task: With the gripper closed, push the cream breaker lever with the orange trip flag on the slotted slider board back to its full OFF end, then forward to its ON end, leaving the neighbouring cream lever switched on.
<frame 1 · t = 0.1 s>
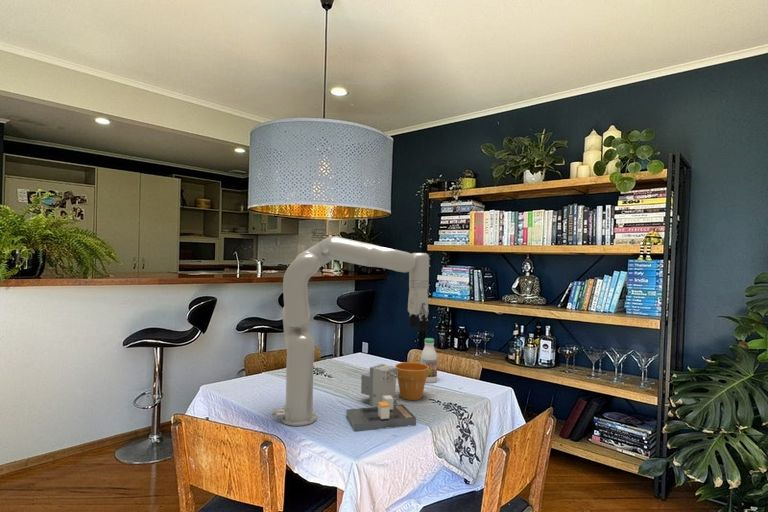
hand: (418, 329, 172), 31 cm above the table, tool pointing down, fingers open, 9 cm apart
flower pot: (411, 397, 186), on the table
on lever: (387, 402, 164), point 5 cm above the table, slide at 8.0 cm
slotted slider board: (380, 420, 160), on the table
tripped lever: (383, 410, 156), point 5 cm above the table, slide at 4.0 cm
circuit breaker: (377, 403, 178), on the table
milk bottle: (428, 381, 210), on the table
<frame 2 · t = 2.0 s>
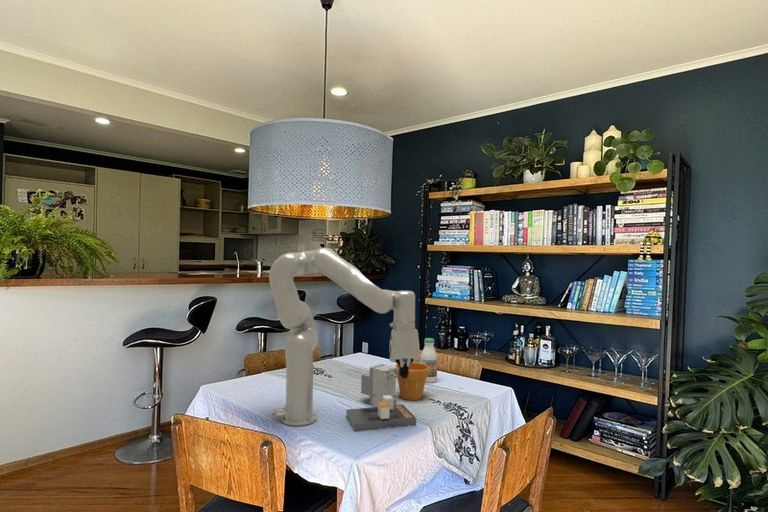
hand: (403, 377, 158), 16 cm above the table, tool pointing down, fingers closed
nothing on the table moved.
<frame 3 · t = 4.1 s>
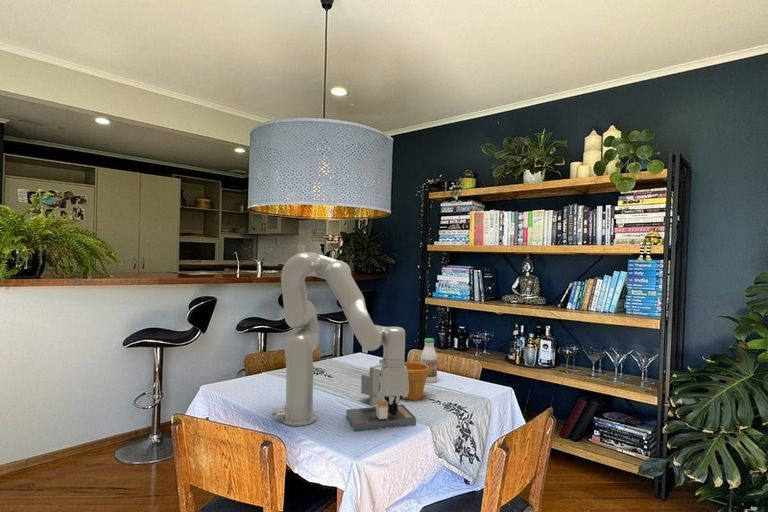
hand: (392, 414, 157), 3 cm above the table, tool pointing down, fingers closed
tripped lever: (381, 410, 155), point 5 cm above the table, slide at 3.3 cm, touching gripper
everything else where it was.
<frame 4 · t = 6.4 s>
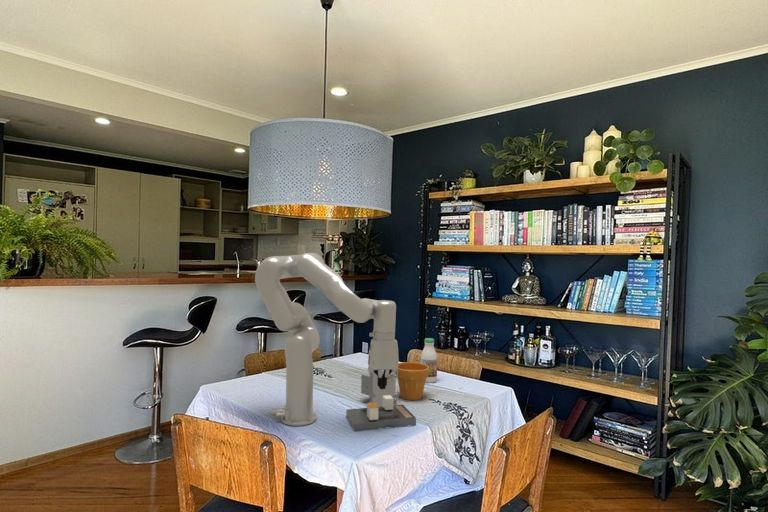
hand: (381, 387, 156), 13 cm above the table, tool pointing down, fingers closed
tripped lever: (372, 411, 154), point 5 cm above the table, slide at -0.1 cm
everything else where it was.
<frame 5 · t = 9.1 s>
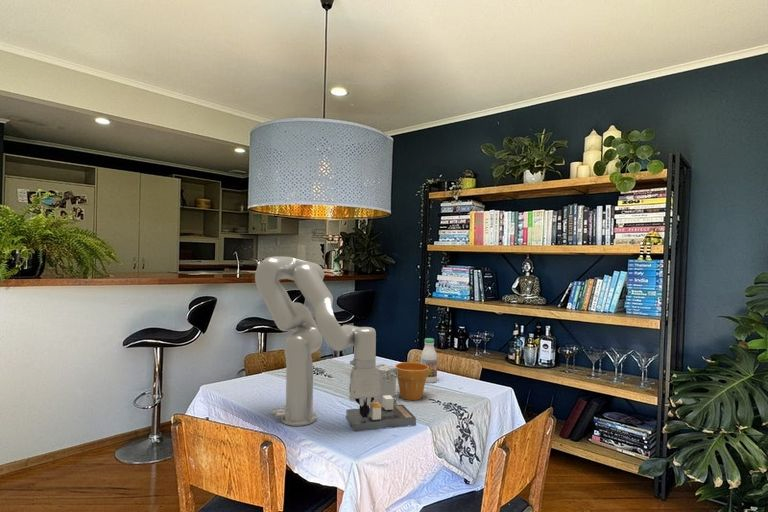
hand: (364, 416, 154), 4 cm above the table, tool pointing down, fingers closed
tripped lever: (375, 410, 155), point 5 cm above the table, slide at 1.0 cm, touching gripper
everything else where it was.
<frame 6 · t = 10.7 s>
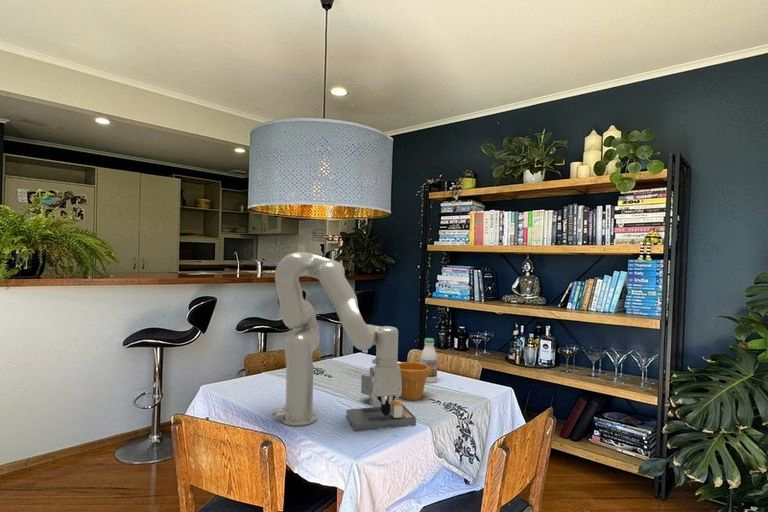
hand: (385, 414, 156), 4 cm above the table, tool pointing down, fingers closed
tripped lever: (396, 408, 157), point 5 cm above the table, slide at 8.7 cm, touching gripper
everything else where it was.
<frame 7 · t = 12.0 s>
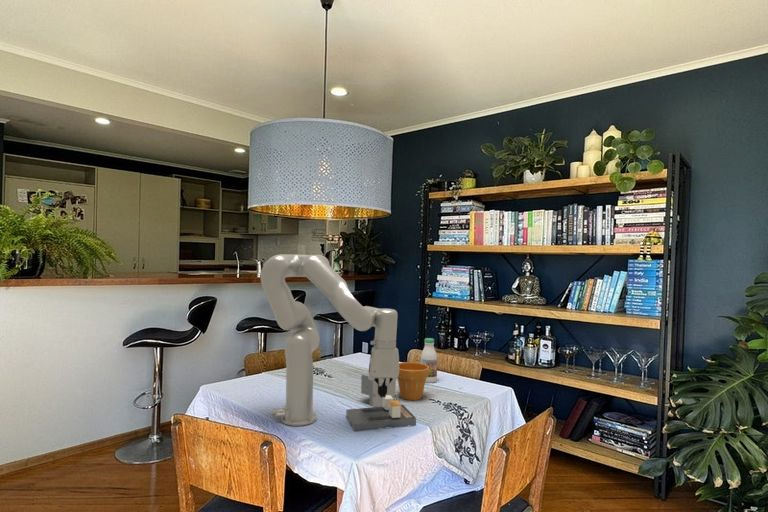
hand: (382, 396, 156), 10 cm above the table, tool pointing down, fingers closed
tripped lever: (394, 409, 157), point 5 cm above the table, slide at 8.1 cm
everything else where it was.
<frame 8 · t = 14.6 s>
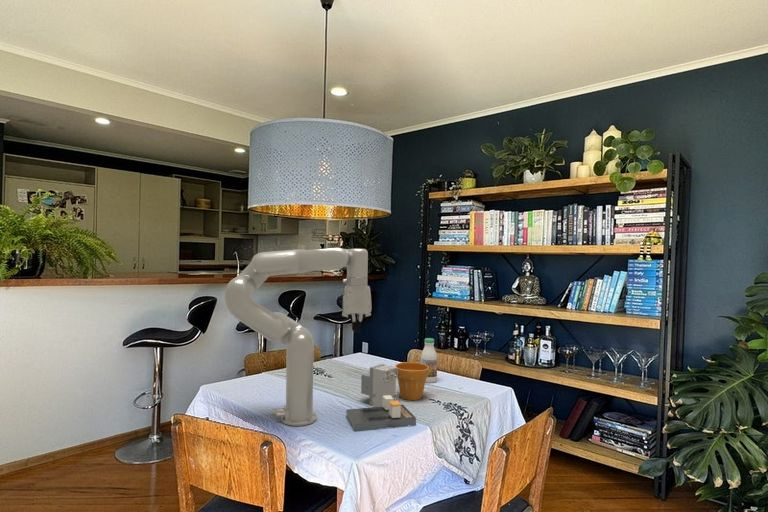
hand: (356, 332, 163), 31 cm above the table, tool pointing down, fingers closed
nothing on the table moved.
at the end: tripped lever slide at 8.1 cm; on lever slide at 8.0 cm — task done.
